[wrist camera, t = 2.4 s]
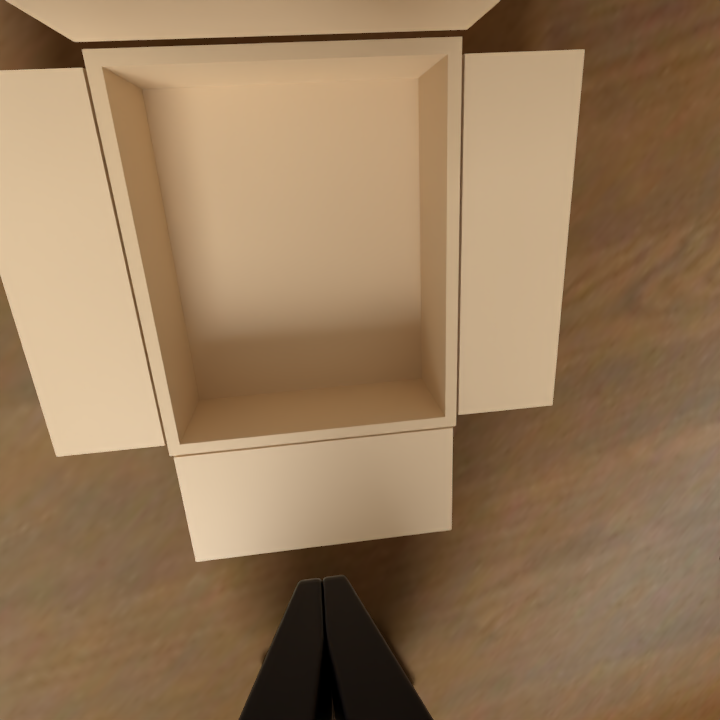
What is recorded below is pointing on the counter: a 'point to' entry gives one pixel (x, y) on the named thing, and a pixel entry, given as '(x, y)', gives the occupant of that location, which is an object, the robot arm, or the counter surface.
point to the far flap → (247, 17)
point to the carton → (289, 267)
